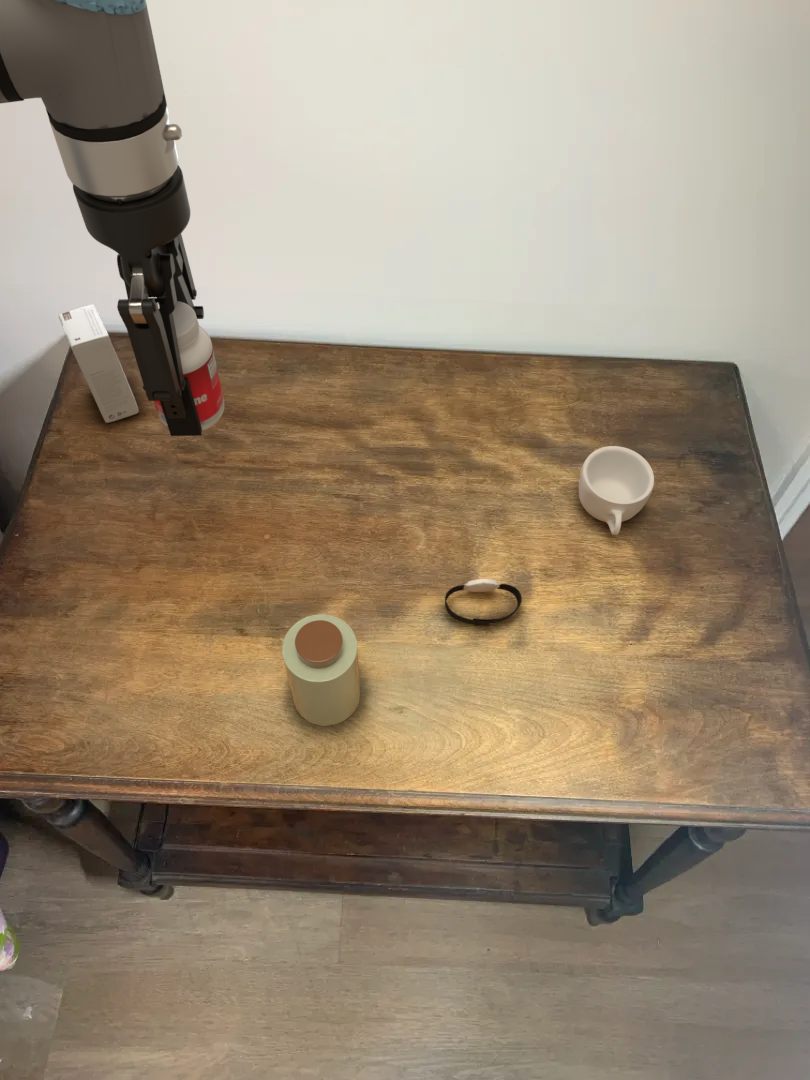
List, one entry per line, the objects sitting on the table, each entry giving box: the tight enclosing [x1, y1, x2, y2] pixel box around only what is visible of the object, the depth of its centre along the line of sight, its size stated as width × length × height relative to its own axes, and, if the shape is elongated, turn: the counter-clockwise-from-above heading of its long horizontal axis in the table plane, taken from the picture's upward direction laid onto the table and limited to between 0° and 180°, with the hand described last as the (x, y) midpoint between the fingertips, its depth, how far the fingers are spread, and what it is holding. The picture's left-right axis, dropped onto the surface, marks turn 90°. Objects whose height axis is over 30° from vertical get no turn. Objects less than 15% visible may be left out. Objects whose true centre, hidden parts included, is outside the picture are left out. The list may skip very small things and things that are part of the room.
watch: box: [444, 578, 523, 627], centre depth 81 cm, size 8×5×4 cm, turn 93°
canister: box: [281, 613, 361, 727], centre depth 73 cm, size 6×6×11 cm
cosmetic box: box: [58, 303, 140, 424], centre depth 93 cm, size 6×4×12 cm
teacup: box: [578, 445, 655, 536], centre depth 88 cm, size 10×8×5 cm
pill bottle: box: [153, 301, 225, 432], centre depth 71 cm, size 6×6×11 cm
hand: (190, 404), depth 75 cm, fingers closed on pill bottle, 6 cm apart
